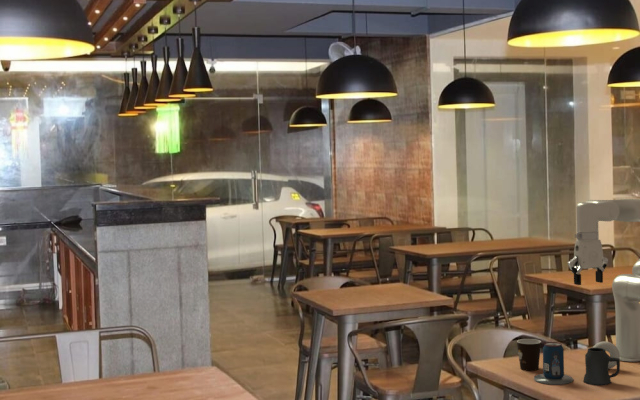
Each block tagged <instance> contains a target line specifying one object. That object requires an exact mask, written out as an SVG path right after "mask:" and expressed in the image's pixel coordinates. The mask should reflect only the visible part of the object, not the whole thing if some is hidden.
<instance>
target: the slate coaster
mask: <svg viewBox="0 0 640 400" xmlns="http://www.w3.org/2000/svg"><path fill="white" fill-rule="evenodd" d="M533 380H534V382H535V383H539V384H542V385H550V386H557V385H558V386H561V385H568V384H571V383H572V382H574V378H573V377H572V376H570V375H568V374H564V376H563V378H562V379H560V380H549V379H546V378H545V376H544V375H543V373H540V374H539V373H538V374H536V375H534V376H533Z"/></svg>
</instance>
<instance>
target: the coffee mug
mask: <svg viewBox="0 0 640 400" xmlns="http://www.w3.org/2000/svg"><path fill="white" fill-rule="evenodd" d="M541 345H542V341H541V340H539V339H535V338H521V339H520V338H519V339H518V340H516V346H517V353H518V360H519V367H520V369H521V370H522V371H526V372H527V371H528V372H530V371H531V372H533V371H534V372H535V371H538V370H539V368H540V367H539V365H540V357H541V347H542V346H541Z"/></svg>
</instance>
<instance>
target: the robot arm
mask: <svg viewBox="0 0 640 400" xmlns="http://www.w3.org/2000/svg"><path fill="white" fill-rule="evenodd" d="M575 210H576V213H575V214H576V234H575V235H574V237H575V238H576V240H575V244H574V250H573V258H572V259H570V260H569V261H567V265H568V268H569V270H570V271H571V273H572V274H573V284H574V285H577V286H582V274H581V271H582V270H583V269H585V270H586V269H596V270H595V282H596V283H600V284H602V283H604V274H603V273H604V272H605V270H606V267H607V264H608V263H609V258H607V257H606V256H604V251H603V245H602V241H601V240H602V239H599V238H600V237H599V222H612V221H617V222H624V223H625V222H626V223H627V222H628V223H635V222H636V223H640V198H628V199H627V198H625V199H624V198H623V199H590V200H589V199H588V200H586V201H583V202H578V203H577V204H576V209H575ZM631 272H632V274H631V273H622V274H618V275H617V276H615V278H614V279H613V280H612V284H611V288H612V295H613V299H614V306H615V311H614V312H615V346H616V347H617V349H618V350H619V353H620V362H631V363H633V362H635V363H636V362H640V258H639V259H638V260H636V262H635V263H634V264H633V266H632V268H631Z"/></svg>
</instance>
